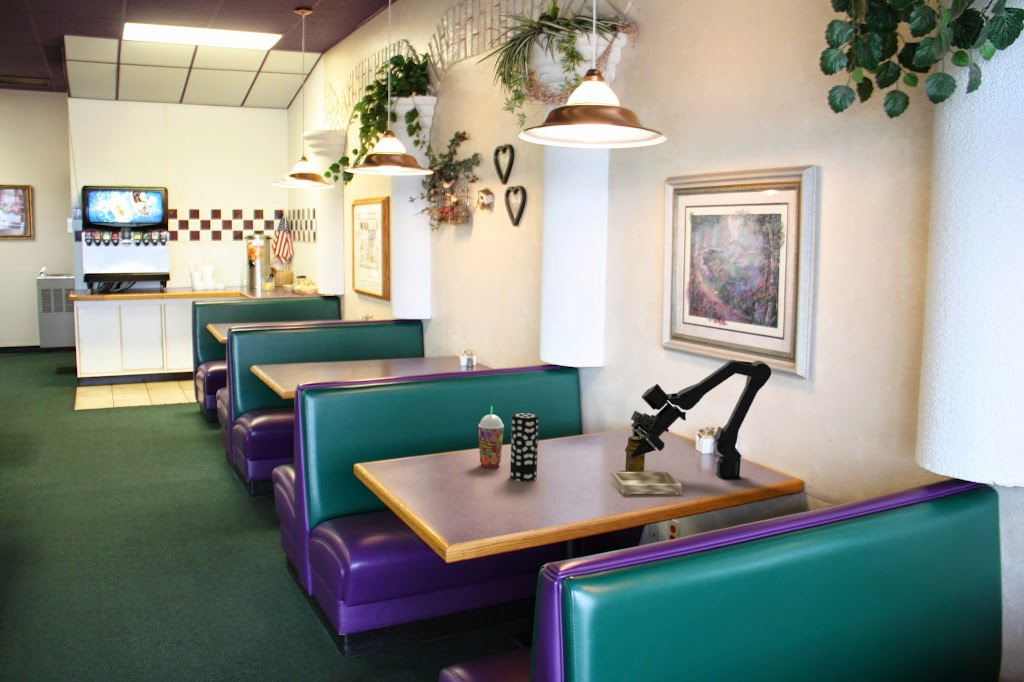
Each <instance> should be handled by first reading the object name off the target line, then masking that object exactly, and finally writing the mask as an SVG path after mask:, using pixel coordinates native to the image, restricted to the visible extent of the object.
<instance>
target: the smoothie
mask: <svg viewBox="0 0 1024 682" xmlns="http://www.w3.org/2000/svg"><path fill="white" fill-rule="evenodd" d="M493 408H494V407H493V405H490V414H486V415H484V416H483V417H482V418H481V420H480V422H479V423H478V426H477V427H478V441H479V442H478V445H479V449H478V450H479V463H480V464H481V467H483V468H486V469H494V468H495V469H496V468H499V466H500V463H501V461H502V451H503V438H504V429H505V428H504V427H505V424H504V423H503V421H502V419H501V418H500V417H499V416H498V415H496V414H493V410H494V409H493Z"/></svg>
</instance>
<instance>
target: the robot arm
mask: <svg viewBox="0 0 1024 682" xmlns="http://www.w3.org/2000/svg"><path fill="white" fill-rule="evenodd" d="M735 374H737V375H742V376H744V377H745V376H746V381H745V386H744V388H743V390H742V392H741V394H740V396H739V398H738V400H737V402H736V403H735V406H734V407H733V410H732V412H731V414H730V416H729V419H728V420H727V423H726V424H725V425H724V426H723V427H721V426H718V427H717V430H716V433H715V434H714V435H713V439H714V440H713V445H714V448H715V449H716V451H717V452H718V454H720V455H721V456H718V461H717V462H716V470H715V474H716V475H717V476H718V477H719V478H720V479H722V480H735V479H736V480H741V479H742V476H741V463H742V462H741V461H742V460H741V459H742V455H741V453H740V451H739V449H738V448H736V445H737V441H738V436H739V431H740V428H741V427H742V425H743V422H744V421H745V419H746V416H747V414H748V412H749V410H750V408H751V406H752V404H753V403H754V400H755V398H756V396H757V394H758V393H759V391H760V390H761V389H762V388H763V387H764V386H765V385H766V383H768V380H769V379H770V378H771V375H772V369H771V367H770V366H769V364H767V363H766V362H764V361H763V360H755V361H753V362H752V361H751V362H750V361H745V360H744V361H742V360H736V359H730V360H728V361H727V362H726V363H725V364H723V365H722V366H721V367H719V368H717V370H715V371H714V372H712V373H711V374H709V375H707V376H706V377H705V378H703V379H702V380H700V381H699V382H696V383H695V384H693V385H690V386H687V387H685V388H683V389H680V390H678V392H675V393H674V392H673V393H666V392H665V391H664V389H662V387H661V385H659V384H658V383H656V384H655V385H653V386H651V387H649V388H648V389H646V391H644V393H643V394H642V396H641V399H642V400H643V401H644V402H645V403H646V404H647V405H648V406H649V407H650V408H651V410H653V411H655V410H657V413H656V414H655V415H654V414H652V415H650V414H648V413H646V412H644V413H641V412H639V411H637V410H634V412H633V414H632V416H631V417H630V420H632V422H633V423H631V424H630V426H631V427H632V428H631V430H632V436H639V437H641V443H640V444H639V445H638V446H637V448H636V449H635V450H634V451H633V453H632V454H631V456H632V457H633V458H634V457H637V456H639V455H642V454H645V455H646V454H649V453H652V452H654V451H659V452H661V451H663V449H664V448H665V442H664V441H663V440H662V439H661V438H660V437H661V436H662V435H663V434H664V433H665V432H666V433H669V431H670V429H669V428H670V427H671V426H672V425H673V424H674V423H675V422H676V421H677V420H678V419H679V418H680V420H682V421H687V419H686V416H687V415H686V414H687V411H689V410H691V409H693V408H694V407H695V406H697V404H698V403H699V402H700V401H701V399H703V397H704V396H705V395H707V394H708V393H709V392H710V391H712V390H713V389H716V387H718V386H719V385H721V384H722V383H724V382H725V381H726V380H728V379H729V378H731V377H732V376H734V375H735ZM683 410H684V411H683ZM658 411H659V412H658ZM624 451H625V452H626V448H625V449H624Z"/></svg>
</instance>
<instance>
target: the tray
mask: <svg viewBox="0 0 1024 682" xmlns="http://www.w3.org/2000/svg"><path fill="white" fill-rule="evenodd" d="M610 475H611V477H610V482H611V483H612V484H613V486H614V485H615V486H616V487H615V488H616V489H617V490H618V492H619V491H620V492H621V493H622V494H621V493H620V492H619V493H620V494H621V495H622V496H630V495H629V494H670V495H681V494H682V484H681V483H680V482H679V481H678V480H677V479H676V478H675V477H674V476H672V475H671V474H670V473H669V472H668V471H644V472H620V471H611V473H610ZM676 493H678V494H676ZM680 493H681V494H680ZM624 494H625V495H624Z"/></svg>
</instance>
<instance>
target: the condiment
mask: <svg viewBox="0 0 1024 682" xmlns="http://www.w3.org/2000/svg"><path fill="white" fill-rule="evenodd" d="M640 443H641V437H639V436H633V435H631V436H628V437H627V445H626V447H625V449H626V451H625V452H626V453H625V469H624V470H620V471H619V472H645V461H646V460H645V459H646V453H645V454H642V455H639V456H637V457H634V458H633V457H632V456H631V454H632V453H633V451H634V450H635V449H636V448H637V446H638V445H639V444H640Z"/></svg>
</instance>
